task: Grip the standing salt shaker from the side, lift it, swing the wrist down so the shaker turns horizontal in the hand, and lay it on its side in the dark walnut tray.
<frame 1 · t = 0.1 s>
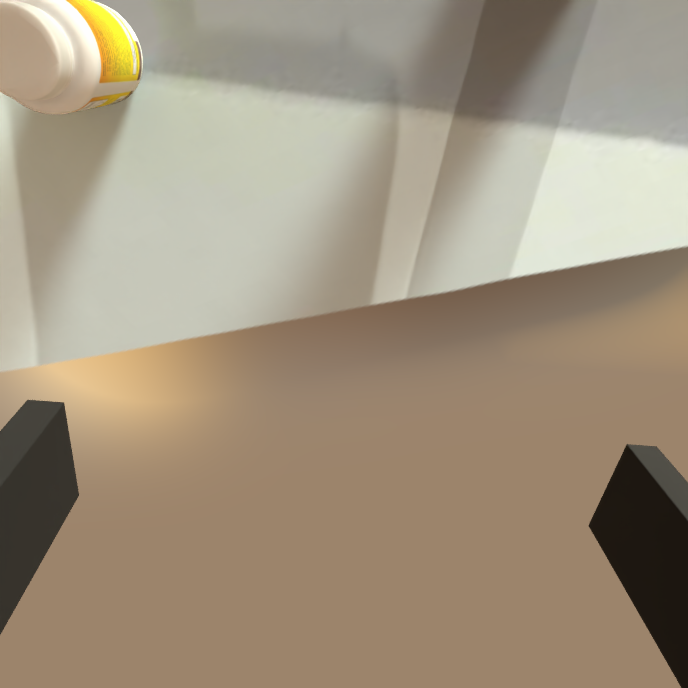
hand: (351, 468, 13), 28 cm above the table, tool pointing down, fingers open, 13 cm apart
supplement bottle: (101, 55, 33), on the table
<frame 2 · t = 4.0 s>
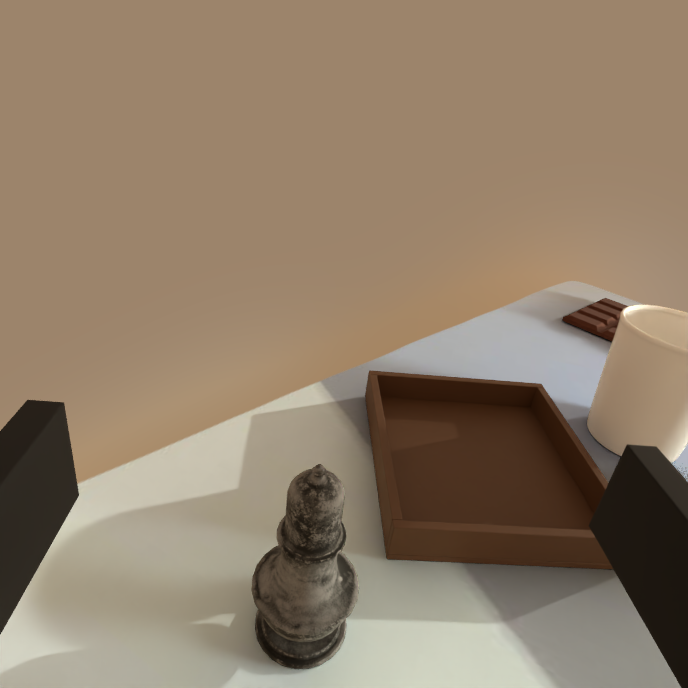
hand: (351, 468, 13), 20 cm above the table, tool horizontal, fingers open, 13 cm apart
candle holder: (629, 439, 51), on the table
chocolate bar: (677, 349, 71), on the table
salt shaker: (300, 624, 30), on the table
tray: (475, 467, 44), on the table
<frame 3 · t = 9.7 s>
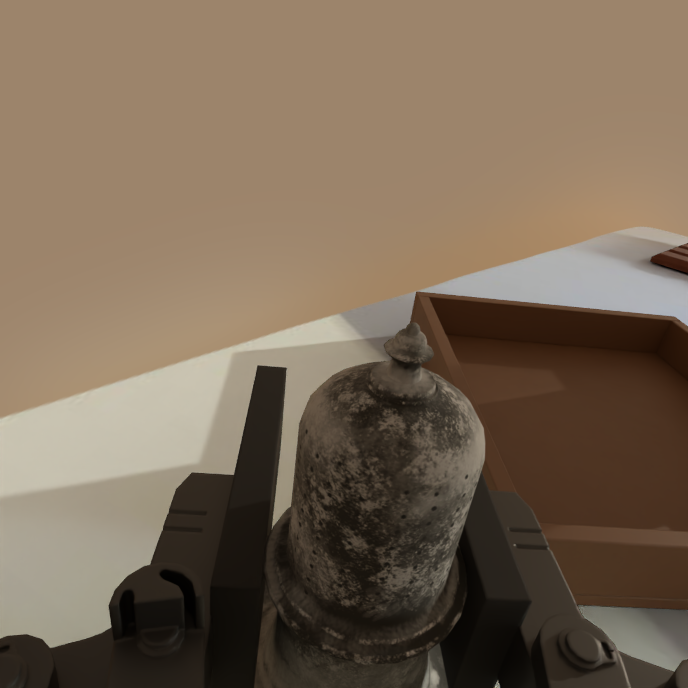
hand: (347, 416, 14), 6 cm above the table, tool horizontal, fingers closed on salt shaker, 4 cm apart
tray: (603, 435, 27), on the table
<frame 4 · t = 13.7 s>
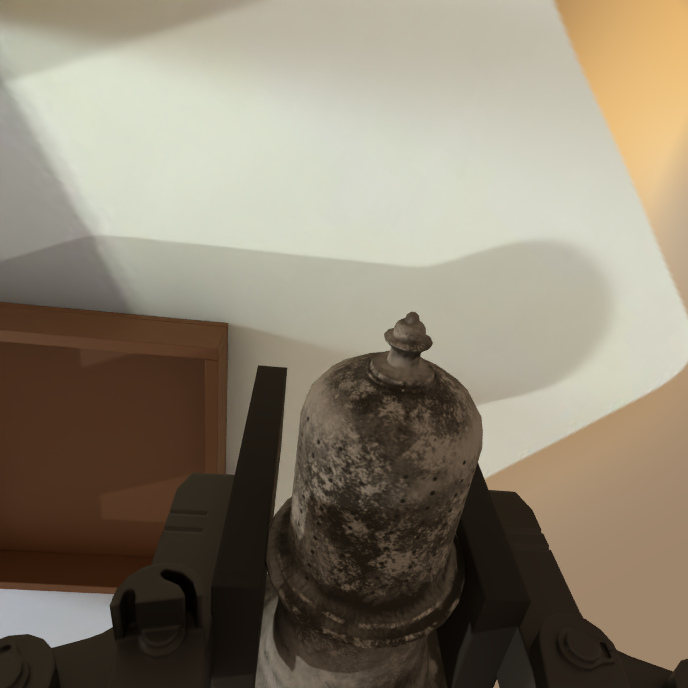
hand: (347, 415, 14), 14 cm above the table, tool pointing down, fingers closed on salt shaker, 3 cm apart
tray: (85, 448, 33), on the table
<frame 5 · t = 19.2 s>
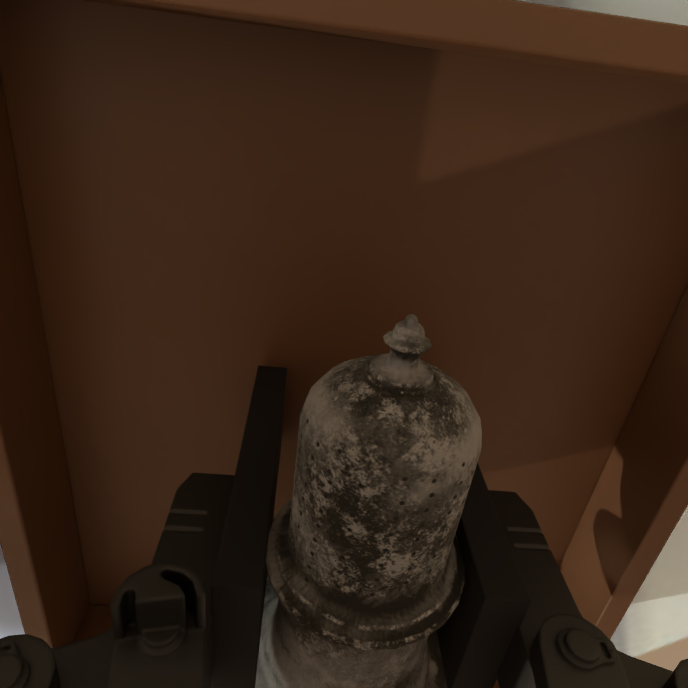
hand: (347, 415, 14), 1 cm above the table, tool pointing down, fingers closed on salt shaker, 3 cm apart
tray: (349, 400, 15), on the table
when the fingers open (2 cm above the table, at t = 21.8 s): salt shaker drops 3 cm, resting on tray.
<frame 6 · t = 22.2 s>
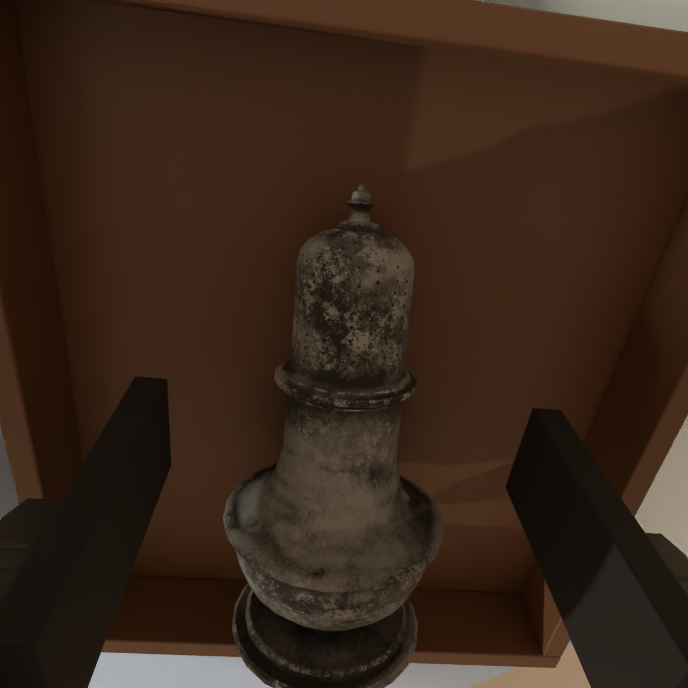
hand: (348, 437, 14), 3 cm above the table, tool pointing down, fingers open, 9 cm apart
salt shaker: (325, 623, 15), point 4 cm above the table, touching tray
tray: (344, 376, 16), on the table
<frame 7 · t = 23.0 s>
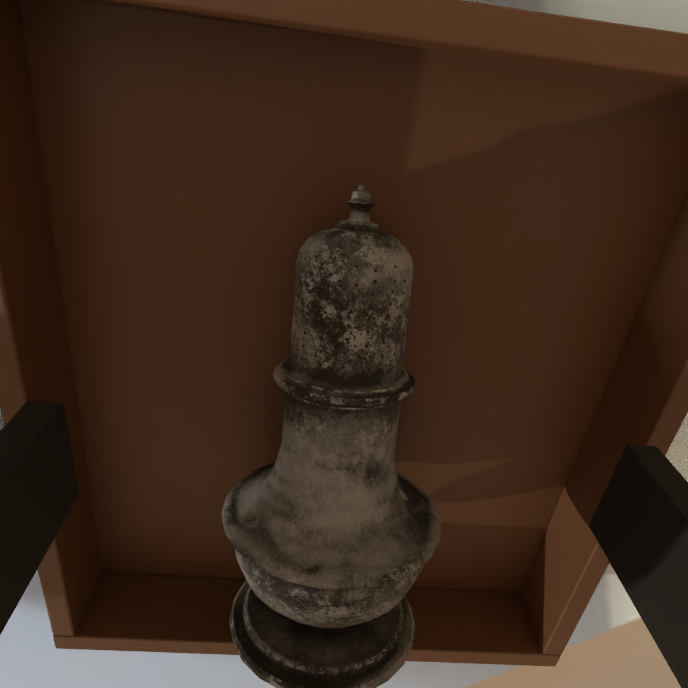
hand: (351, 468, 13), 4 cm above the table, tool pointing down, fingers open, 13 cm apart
salt shaker: (322, 621, 15), point 4 cm above the table, touching tray
tray: (345, 376, 16), on the table
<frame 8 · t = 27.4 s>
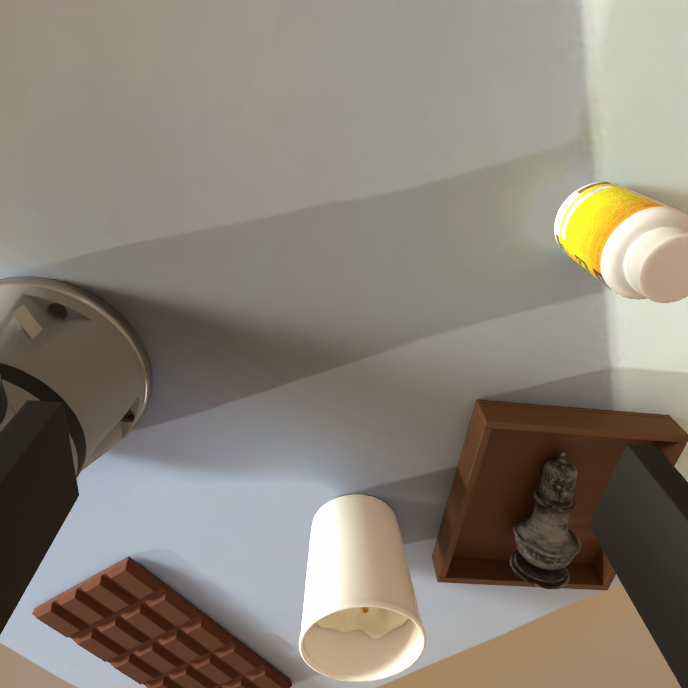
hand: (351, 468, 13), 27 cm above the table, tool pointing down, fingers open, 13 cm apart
candle holder: (354, 523, 51), on the table
chocolate bar: (172, 646, 59), on the table
supplement bottle: (589, 219, 37), on the table
salt shaker: (538, 570, 48), point 4 cm above the table, touching tray
tray: (541, 491, 50), on the table
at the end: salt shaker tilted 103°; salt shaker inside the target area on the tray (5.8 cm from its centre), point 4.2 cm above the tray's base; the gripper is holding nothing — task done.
